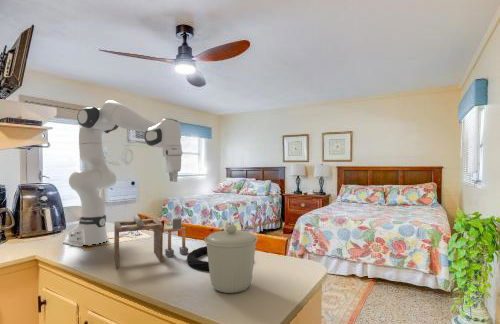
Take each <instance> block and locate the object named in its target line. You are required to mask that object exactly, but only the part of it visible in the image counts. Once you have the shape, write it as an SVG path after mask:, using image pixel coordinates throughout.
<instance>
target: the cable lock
mask: <svg viewBox="0 0 500 324" xmlns="http://www.w3.org/2000/svg"><path fill="white" fill-rule="evenodd" d="M204 255H208V253H207V245H205V246H202V247H198V248H196V249H193V250H192V251H190V252H188V254H187V257H186V262H187V265H189V266H190V267H192V268H193V269H195V270H198V271H200V270H201V271H206V272H210V271H209V263H208V261H205V260H201V259H197V258H199V257H201V256H204Z"/></svg>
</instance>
